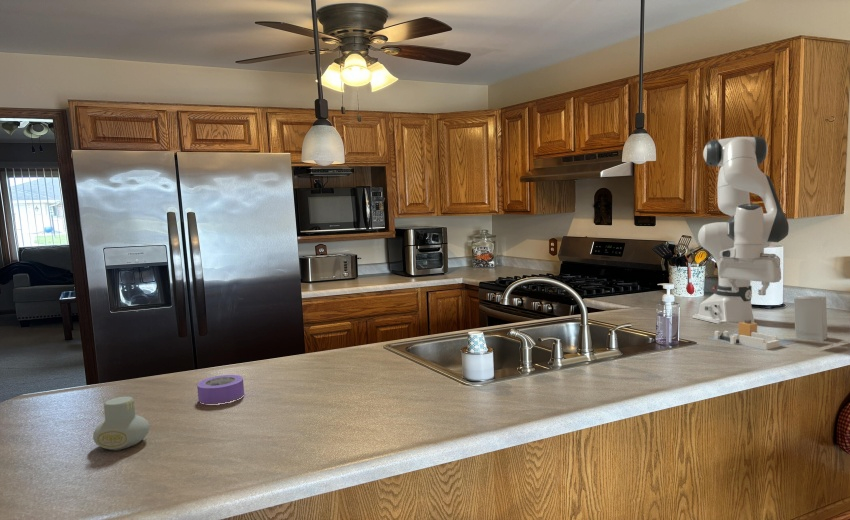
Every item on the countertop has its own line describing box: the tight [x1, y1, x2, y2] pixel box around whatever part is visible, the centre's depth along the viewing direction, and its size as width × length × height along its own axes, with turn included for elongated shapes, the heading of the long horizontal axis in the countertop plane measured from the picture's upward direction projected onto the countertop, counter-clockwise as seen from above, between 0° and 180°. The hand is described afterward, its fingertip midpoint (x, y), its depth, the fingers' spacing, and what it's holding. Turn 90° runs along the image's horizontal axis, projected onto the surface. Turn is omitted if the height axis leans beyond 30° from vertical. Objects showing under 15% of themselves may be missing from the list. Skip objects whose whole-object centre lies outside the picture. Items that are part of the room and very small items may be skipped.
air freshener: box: [92, 396, 150, 451], centre depth 127 cm, size 11×8×10 cm
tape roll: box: [196, 374, 245, 404], centre depth 157 cm, size 12×12×5 cm
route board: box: [706, 330, 798, 351], centre depth 193 cm, size 20×18×4 cm
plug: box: [737, 320, 758, 337], centre depth 197 cm, size 4×4×6 cm
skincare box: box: [793, 295, 828, 342], centre depth 193 cm, size 8×6×15 cm
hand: (748, 293), depth 196 cm, fingers open, 8 cm apart
